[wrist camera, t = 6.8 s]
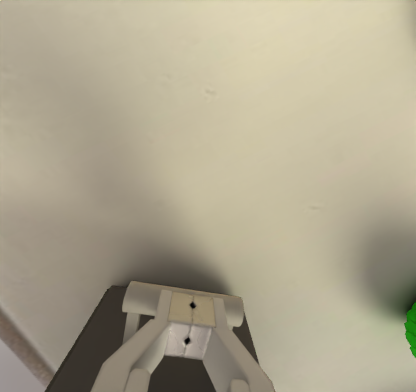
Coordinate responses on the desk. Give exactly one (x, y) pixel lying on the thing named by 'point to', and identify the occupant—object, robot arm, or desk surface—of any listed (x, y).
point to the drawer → (127, 326)
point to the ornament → (411, 328)
